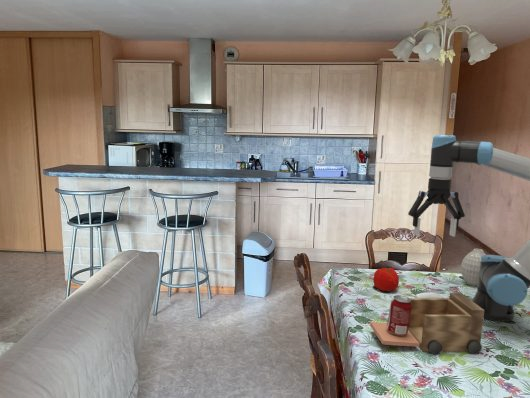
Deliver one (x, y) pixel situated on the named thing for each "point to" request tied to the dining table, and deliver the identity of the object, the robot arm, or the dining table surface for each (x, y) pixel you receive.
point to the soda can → (399, 315)
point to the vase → (472, 266)
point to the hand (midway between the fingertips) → (434, 235)
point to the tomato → (386, 279)
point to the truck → (446, 324)
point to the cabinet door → (393, 336)
